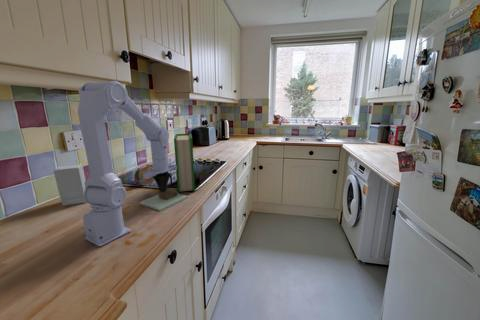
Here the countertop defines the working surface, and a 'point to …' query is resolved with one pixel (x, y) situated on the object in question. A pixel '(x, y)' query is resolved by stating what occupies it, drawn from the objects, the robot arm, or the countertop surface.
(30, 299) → the countertop surface
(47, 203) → the countertop surface
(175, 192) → the walnut block
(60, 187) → the skincare box
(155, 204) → the tray
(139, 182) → the tin
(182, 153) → the hardback book
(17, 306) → the countertop surface
